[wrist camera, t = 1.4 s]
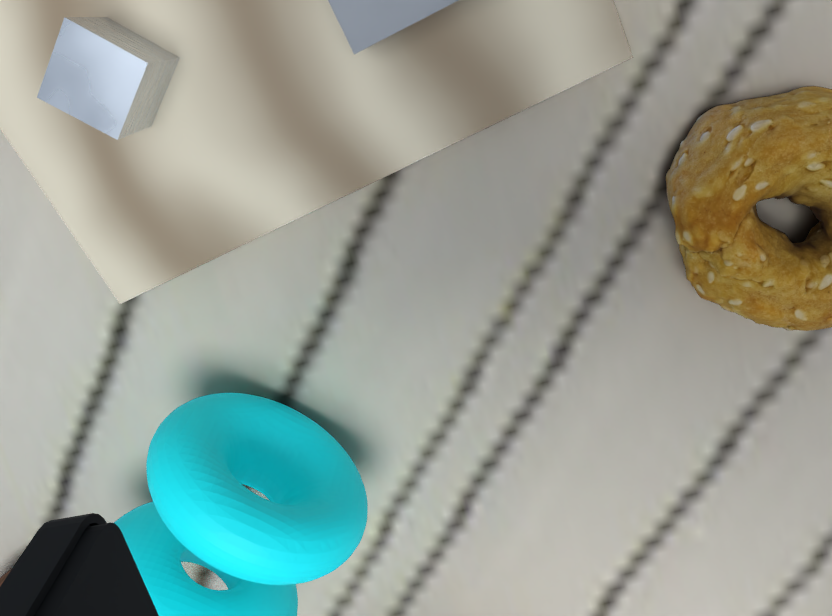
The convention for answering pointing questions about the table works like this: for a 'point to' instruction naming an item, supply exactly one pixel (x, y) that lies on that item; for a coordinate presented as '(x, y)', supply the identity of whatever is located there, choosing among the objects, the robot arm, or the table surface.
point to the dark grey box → (380, 18)
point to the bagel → (737, 215)
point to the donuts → (243, 507)
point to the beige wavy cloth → (275, 113)
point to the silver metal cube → (107, 75)
